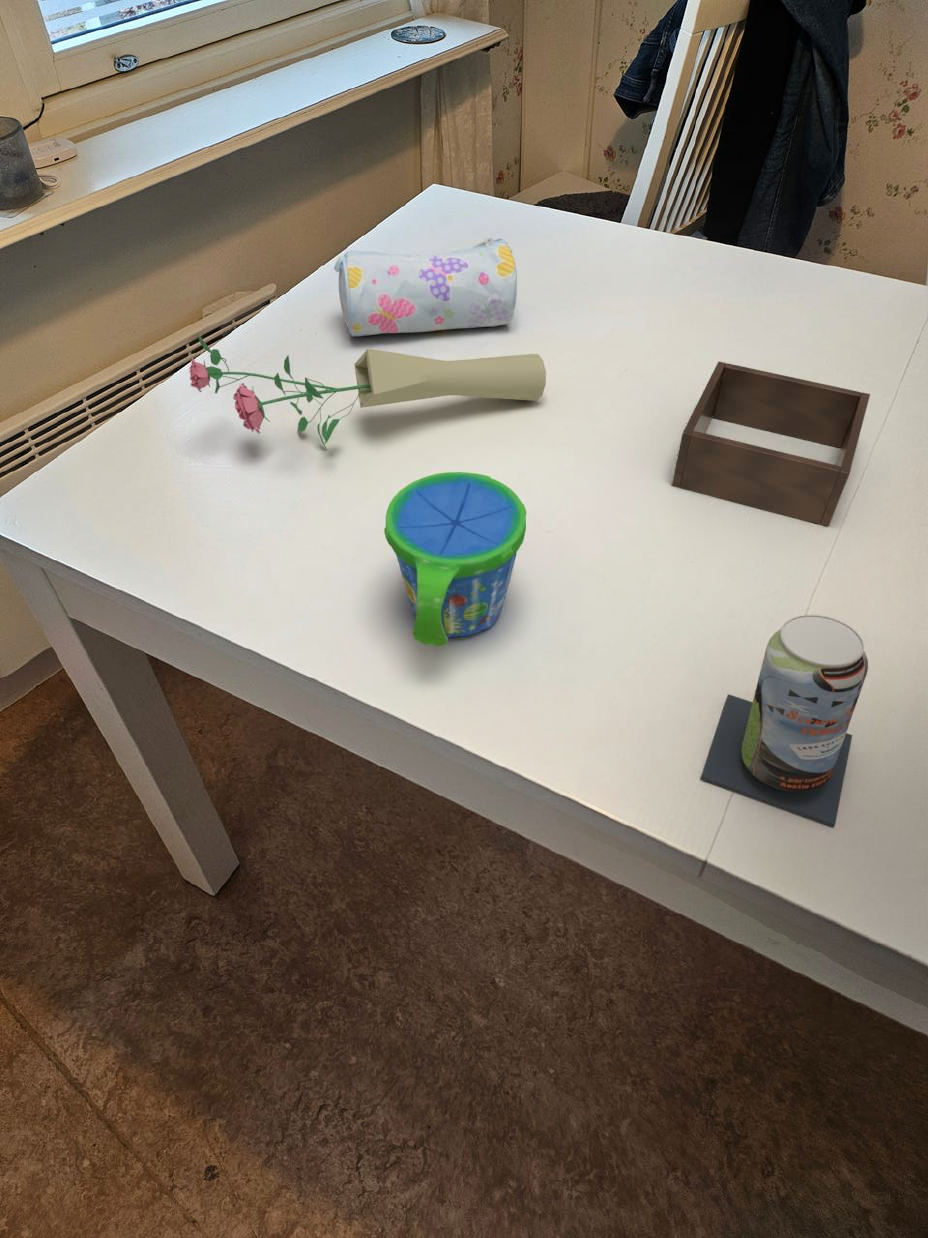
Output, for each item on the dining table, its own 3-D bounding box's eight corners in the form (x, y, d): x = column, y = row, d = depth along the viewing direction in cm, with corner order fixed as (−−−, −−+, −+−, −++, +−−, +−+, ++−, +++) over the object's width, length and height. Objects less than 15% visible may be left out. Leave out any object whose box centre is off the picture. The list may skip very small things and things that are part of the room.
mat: (850, 738, 63) (852, 734, 63) (833, 827, 58) (834, 824, 58) (727, 697, 66) (728, 693, 65) (700, 779, 61) (701, 776, 60)
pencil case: (506, 301, 108) (508, 224, 102) (523, 335, 103) (526, 256, 96) (339, 318, 106) (329, 240, 99) (346, 354, 100) (336, 274, 93)
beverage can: (764, 813, 58) (815, 704, 49) (714, 727, 63) (752, 614, 54) (847, 791, 59) (911, 680, 51) (791, 709, 64) (841, 594, 55)
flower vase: (524, 474, 97) (200, 493, 82) (489, 390, 102) (179, 395, 87) (566, 400, 87) (208, 407, 73) (526, 312, 92) (183, 303, 78)
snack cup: (484, 695, 66) (485, 601, 58) (359, 658, 68) (345, 563, 61) (546, 563, 76) (554, 468, 68) (434, 534, 78) (430, 441, 71)
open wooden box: (850, 445, 87) (870, 393, 83) (828, 526, 79) (849, 473, 74) (706, 412, 91) (718, 360, 87) (671, 485, 83) (682, 432, 79)
